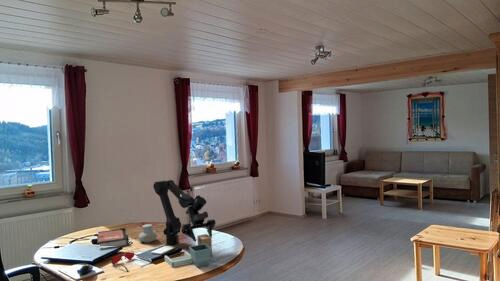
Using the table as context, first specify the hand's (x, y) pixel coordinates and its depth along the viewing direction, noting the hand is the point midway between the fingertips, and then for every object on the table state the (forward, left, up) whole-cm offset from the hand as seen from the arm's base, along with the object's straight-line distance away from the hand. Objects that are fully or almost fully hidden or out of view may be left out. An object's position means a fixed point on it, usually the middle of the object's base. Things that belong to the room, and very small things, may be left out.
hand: (203, 239), depth 204 cm
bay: (-10, -10, -9) cm, 17 cm away
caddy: (+1, -1, -9) cm, 9 cm away
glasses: (-32, -20, -9) cm, 39 cm away
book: (-69, +13, -9) cm, 71 cm away
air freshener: (-46, +18, -9) cm, 50 cm away
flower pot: (+4, -13, -9) cm, 16 cm away
